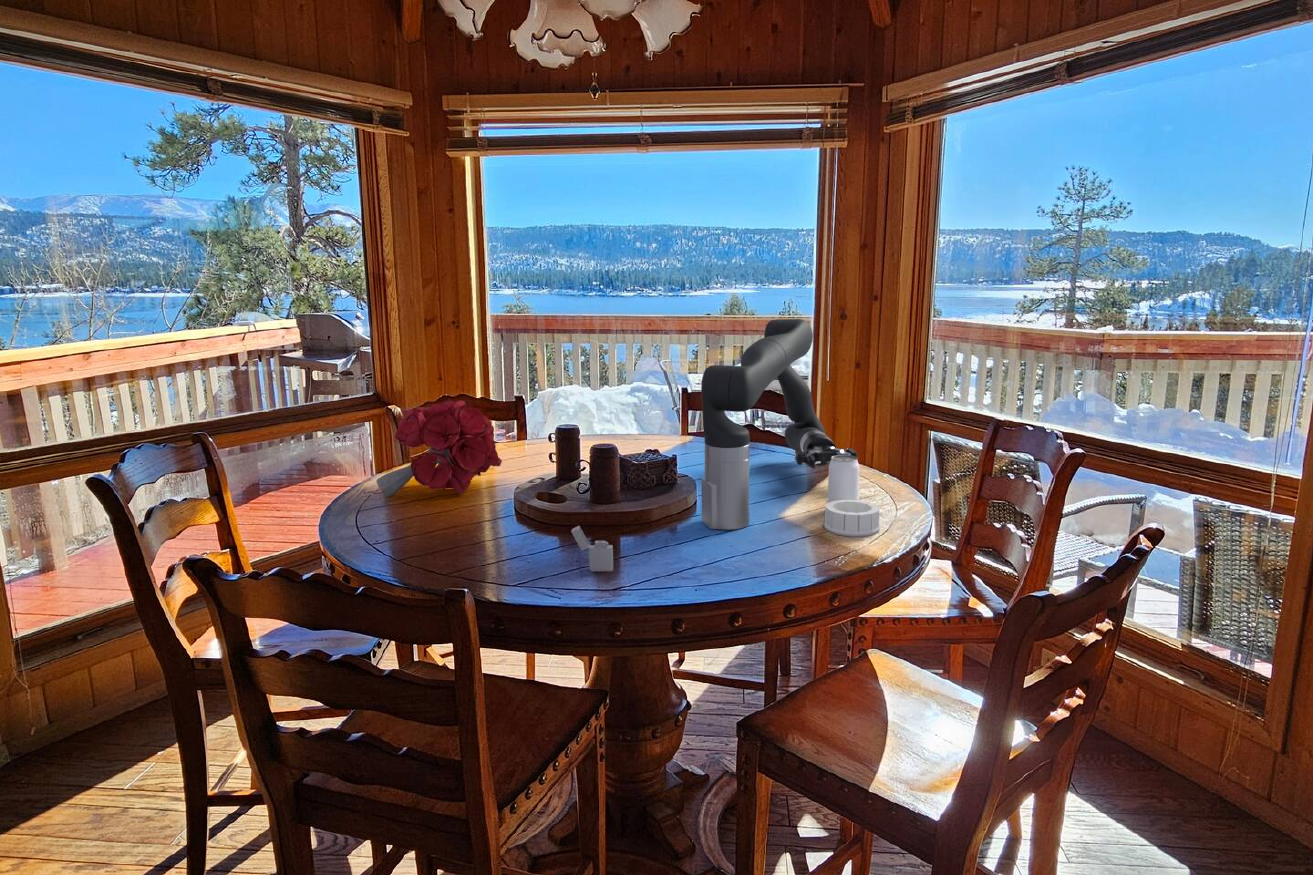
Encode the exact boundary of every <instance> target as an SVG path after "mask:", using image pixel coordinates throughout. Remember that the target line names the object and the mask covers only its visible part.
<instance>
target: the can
mask: <svg viewBox="0 0 1313 875" xmlns="http://www.w3.org/2000/svg"><path fill="white" fill-rule="evenodd" d="M827 476H828V479H827V482H828V484H827V503H829V502H831V501H836V500H859V491H860V490H859V486H860V464H859V462H858V456H857V457H854V456H848V455H837V456H832V457H831V461H830V463H829V464H828V475H827Z"/></svg>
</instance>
